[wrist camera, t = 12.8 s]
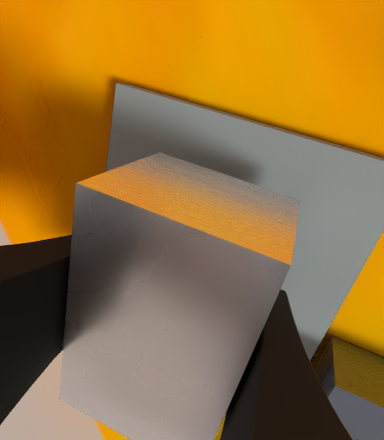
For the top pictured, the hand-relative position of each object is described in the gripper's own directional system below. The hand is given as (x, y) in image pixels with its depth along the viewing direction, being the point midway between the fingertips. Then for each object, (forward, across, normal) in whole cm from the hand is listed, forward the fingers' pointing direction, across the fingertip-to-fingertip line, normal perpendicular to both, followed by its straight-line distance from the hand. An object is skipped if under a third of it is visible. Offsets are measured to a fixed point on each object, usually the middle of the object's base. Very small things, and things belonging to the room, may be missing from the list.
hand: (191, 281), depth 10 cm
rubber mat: (+3, 0, 0) cm, 3 cm away
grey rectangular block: (+1, 0, 0) cm, 1 cm away
